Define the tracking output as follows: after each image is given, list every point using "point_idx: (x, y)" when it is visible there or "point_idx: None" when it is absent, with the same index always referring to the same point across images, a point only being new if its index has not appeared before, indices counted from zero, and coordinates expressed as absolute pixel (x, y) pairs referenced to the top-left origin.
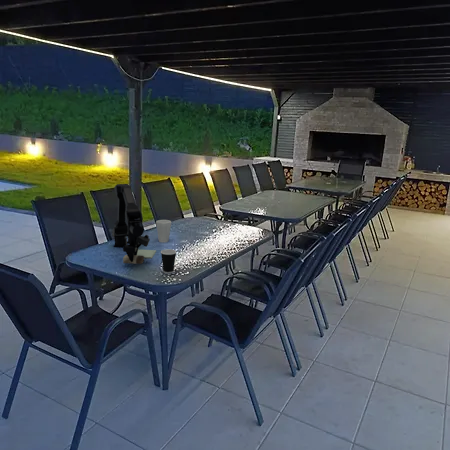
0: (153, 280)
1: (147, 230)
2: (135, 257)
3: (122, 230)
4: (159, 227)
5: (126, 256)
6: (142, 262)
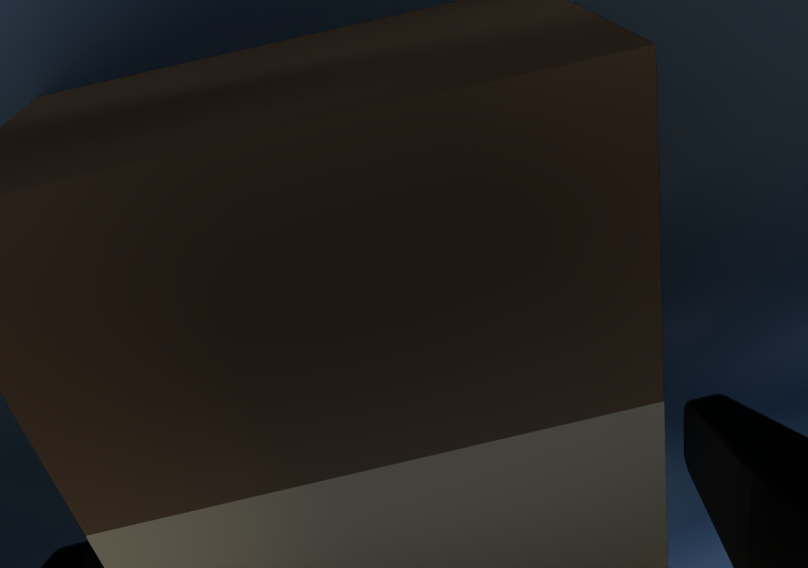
0: None
1: None
2: (502, 500)
3: None
4: None
5: None
6: (366, 26)
